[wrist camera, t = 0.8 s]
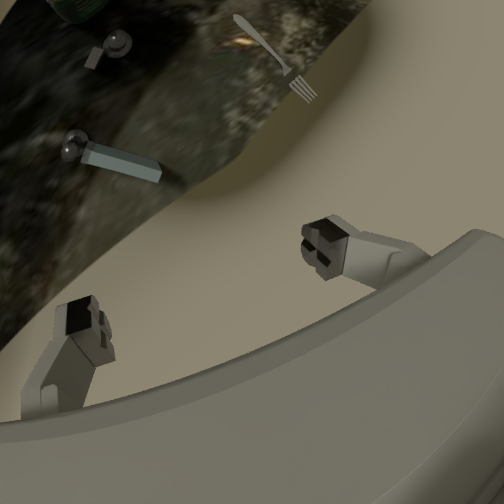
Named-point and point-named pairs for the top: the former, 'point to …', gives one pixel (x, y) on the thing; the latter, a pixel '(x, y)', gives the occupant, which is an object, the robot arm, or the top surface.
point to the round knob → (74, 144)
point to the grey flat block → (121, 161)
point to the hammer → (110, 48)
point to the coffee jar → (77, 9)
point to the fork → (259, 39)
